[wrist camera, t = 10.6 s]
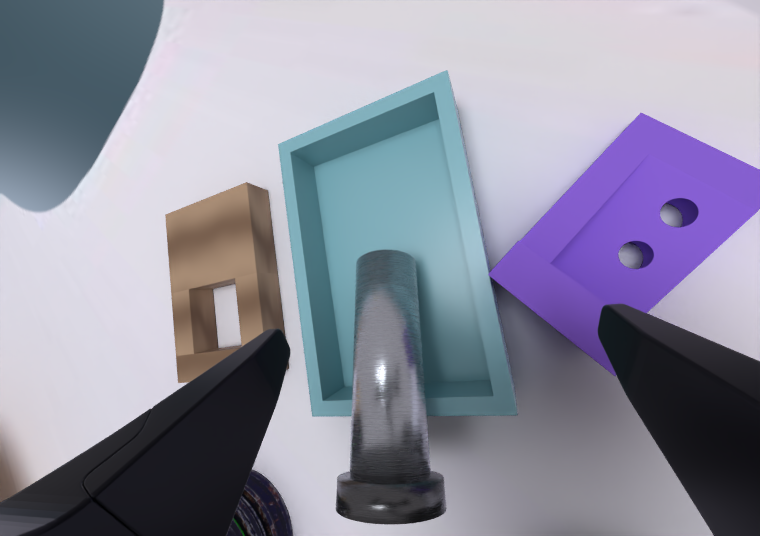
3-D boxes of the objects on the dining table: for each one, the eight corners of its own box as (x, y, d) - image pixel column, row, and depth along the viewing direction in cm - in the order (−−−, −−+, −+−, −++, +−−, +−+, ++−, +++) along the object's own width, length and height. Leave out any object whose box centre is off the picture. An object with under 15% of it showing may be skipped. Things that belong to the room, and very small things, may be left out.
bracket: (584, 350, 18) (627, 386, 12) (492, 277, 20) (487, 274, 14) (755, 189, 16) (929, 125, 9) (630, 126, 18) (700, 39, 11)
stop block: (288, 368, 26) (268, 376, 24) (203, 375, 30) (178, 383, 28) (267, 190, 28) (246, 182, 26) (189, 219, 32) (165, 214, 30)
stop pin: (411, 282, 23) (424, 491, 17) (343, 277, 22) (333, 496, 16) (436, 248, 18) (465, 519, 12) (351, 240, 17) (340, 528, 11)
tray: (514, 389, 19) (517, 415, 15) (341, 395, 24) (312, 416, 20) (456, 106, 21) (447, 69, 18) (309, 163, 26) (278, 144, 23)
